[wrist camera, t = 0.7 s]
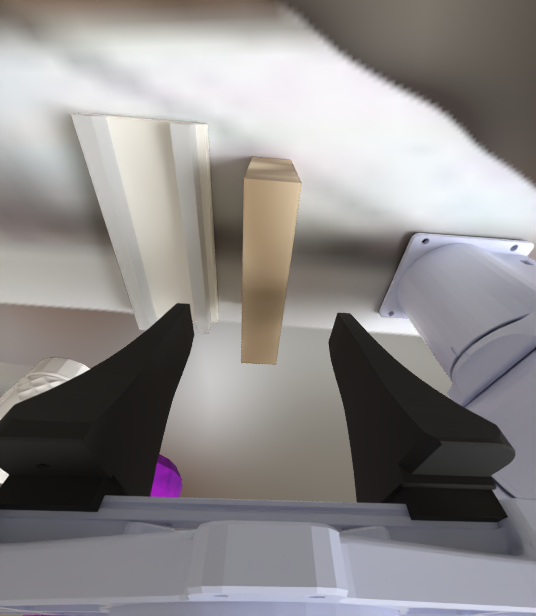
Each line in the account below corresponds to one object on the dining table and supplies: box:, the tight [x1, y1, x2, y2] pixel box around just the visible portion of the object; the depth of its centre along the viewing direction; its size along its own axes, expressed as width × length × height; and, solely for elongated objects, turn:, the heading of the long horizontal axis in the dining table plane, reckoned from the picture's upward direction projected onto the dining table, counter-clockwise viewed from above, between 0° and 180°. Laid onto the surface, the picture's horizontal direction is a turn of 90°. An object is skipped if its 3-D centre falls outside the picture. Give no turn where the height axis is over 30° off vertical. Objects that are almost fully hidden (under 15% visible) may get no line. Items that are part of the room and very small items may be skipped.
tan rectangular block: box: [241, 157, 302, 365], centre depth 17 cm, size 2×12×7 cm, turn 176°
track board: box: [71, 113, 219, 334], centre depth 19 cm, size 7×15×2 cm, turn 176°
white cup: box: [0, 357, 89, 483], centre depth 26 cm, size 8×8×10 cm
